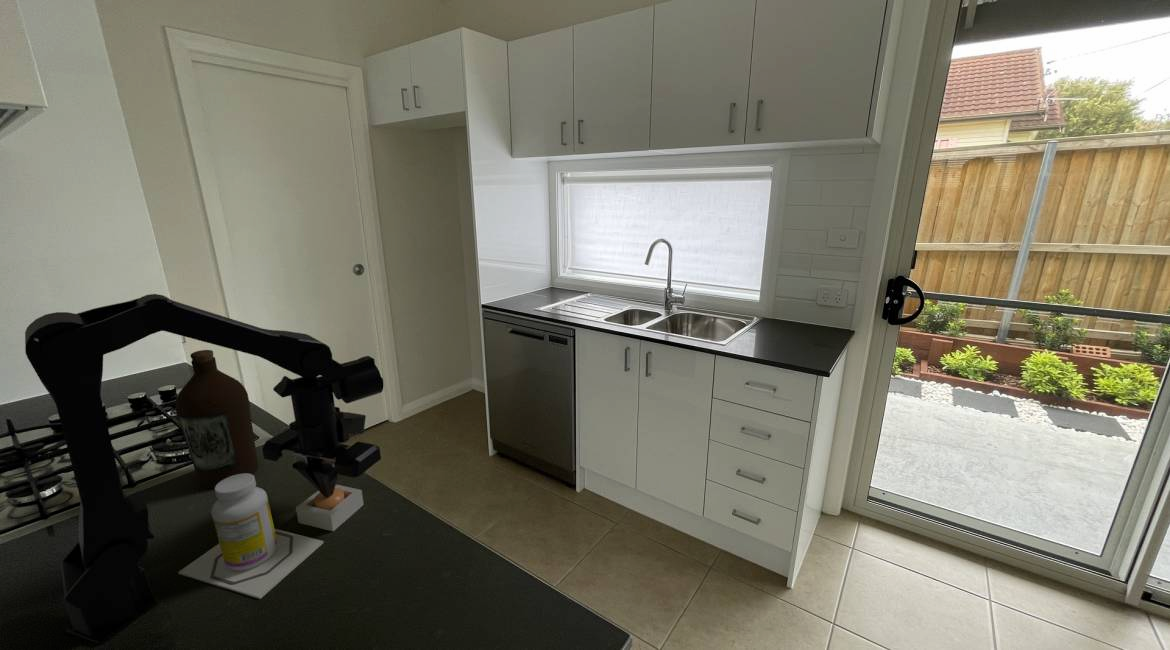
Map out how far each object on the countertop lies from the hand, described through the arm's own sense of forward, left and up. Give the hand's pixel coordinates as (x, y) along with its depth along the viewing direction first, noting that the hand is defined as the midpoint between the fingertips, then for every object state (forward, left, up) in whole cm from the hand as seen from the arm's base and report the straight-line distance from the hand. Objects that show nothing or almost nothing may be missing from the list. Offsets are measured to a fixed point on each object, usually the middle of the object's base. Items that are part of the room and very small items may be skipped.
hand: (328, 495), depth 80 cm
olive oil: (+4, +27, -4) cm, 28 cm away
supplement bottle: (-11, +4, -4) cm, 13 cm away
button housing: (0, 0, -4) cm, 4 cm away
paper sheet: (-11, +3, -4) cm, 13 cm away
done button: (0, 0, -3) cm, 3 cm away
